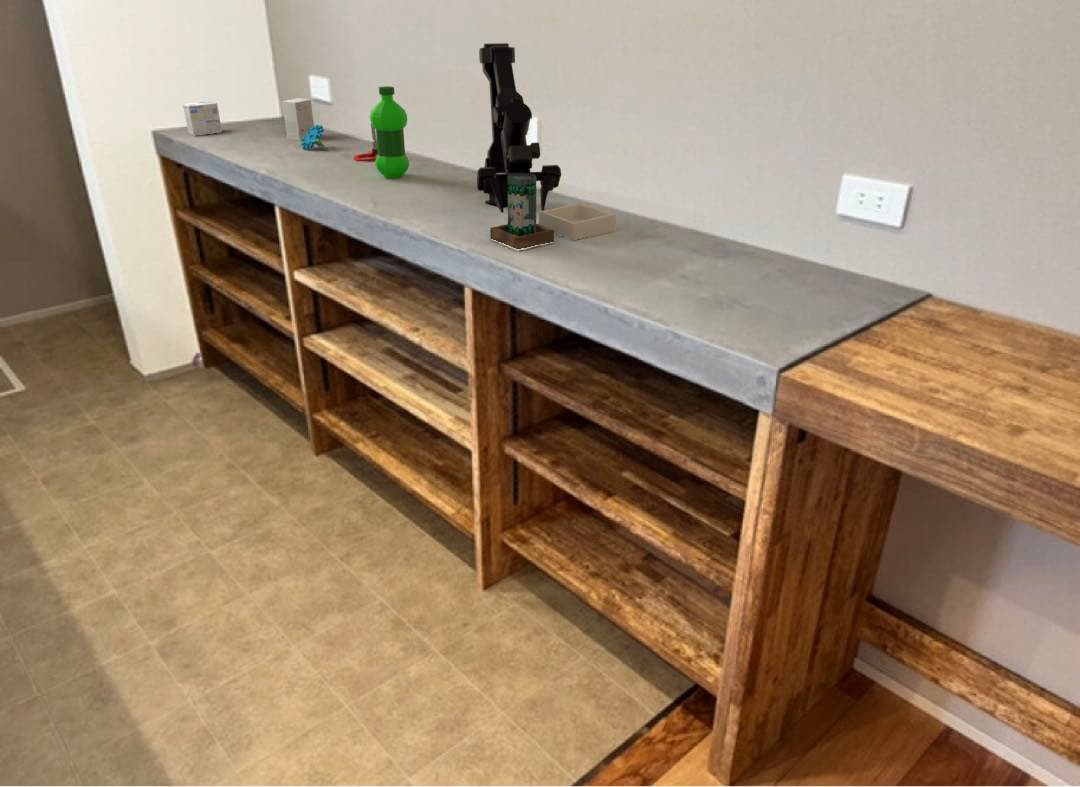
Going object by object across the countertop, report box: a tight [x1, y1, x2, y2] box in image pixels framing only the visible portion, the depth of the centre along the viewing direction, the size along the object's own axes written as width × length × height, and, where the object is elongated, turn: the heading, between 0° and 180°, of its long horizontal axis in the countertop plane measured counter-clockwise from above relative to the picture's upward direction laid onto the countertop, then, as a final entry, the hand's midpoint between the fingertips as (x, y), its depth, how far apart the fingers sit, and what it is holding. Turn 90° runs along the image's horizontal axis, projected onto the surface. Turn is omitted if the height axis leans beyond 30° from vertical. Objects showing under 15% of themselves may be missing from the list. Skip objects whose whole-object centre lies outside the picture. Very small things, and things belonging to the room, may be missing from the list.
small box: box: [281, 97, 315, 142], centre depth 295 cm, size 8×6×13 cm
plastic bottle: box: [369, 85, 410, 179], centre depth 241 cm, size 10×10×25 cm
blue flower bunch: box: [300, 124, 327, 151], centre depth 281 cm, size 11×6×10 cm
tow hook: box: [353, 123, 378, 162], centre depth 265 cm, size 8×13×9 cm
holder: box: [489, 223, 555, 249], centre depth 190 cm, size 10×10×3 cm
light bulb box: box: [182, 100, 223, 137], centre depth 302 cm, size 11×7×11 cm, turn 130°
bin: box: [538, 202, 617, 241], centre depth 198 cm, size 13×13×4 cm
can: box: [507, 173, 537, 236], centre depth 187 cm, size 6×6×15 cm
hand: (523, 210), depth 186 cm, fingers open, 9 cm apart
